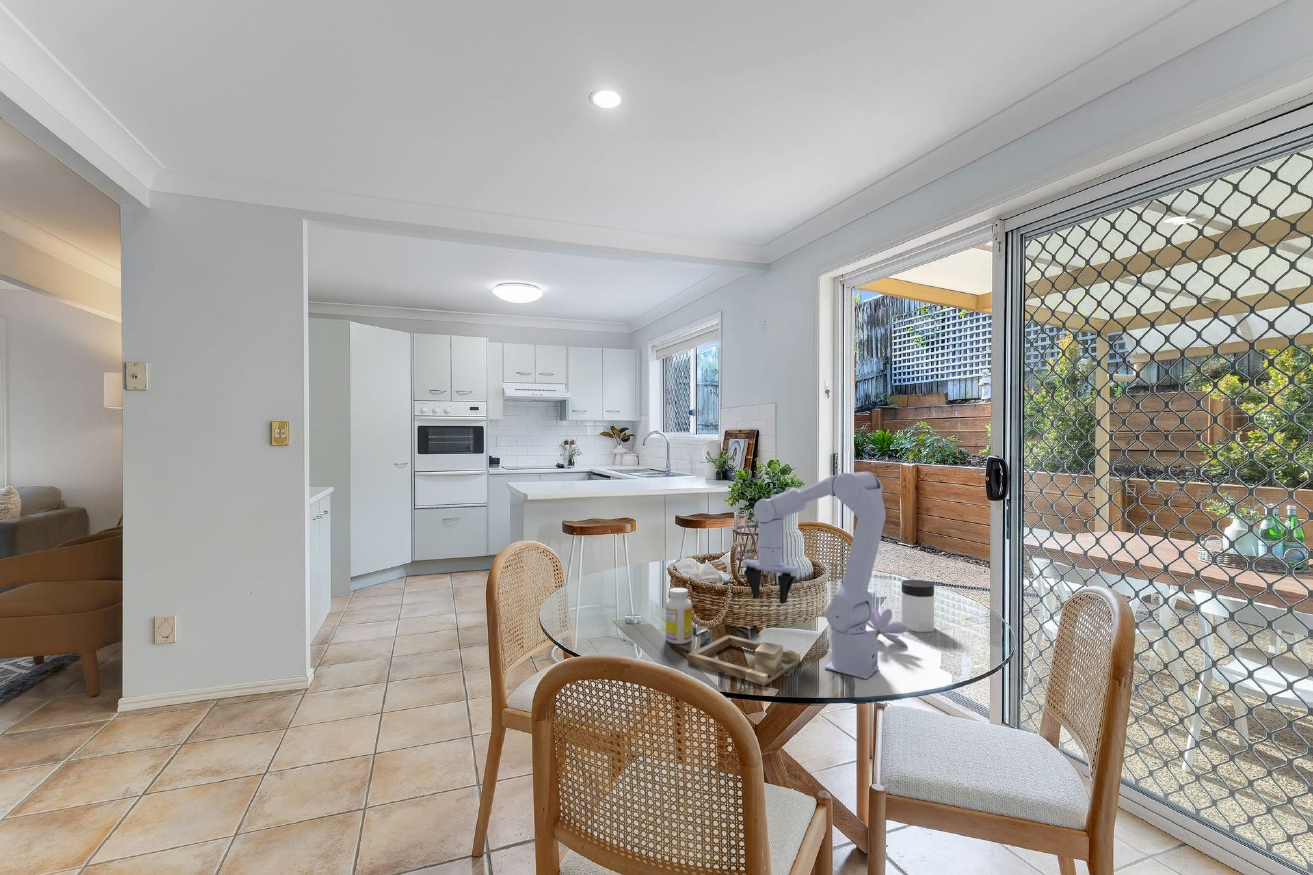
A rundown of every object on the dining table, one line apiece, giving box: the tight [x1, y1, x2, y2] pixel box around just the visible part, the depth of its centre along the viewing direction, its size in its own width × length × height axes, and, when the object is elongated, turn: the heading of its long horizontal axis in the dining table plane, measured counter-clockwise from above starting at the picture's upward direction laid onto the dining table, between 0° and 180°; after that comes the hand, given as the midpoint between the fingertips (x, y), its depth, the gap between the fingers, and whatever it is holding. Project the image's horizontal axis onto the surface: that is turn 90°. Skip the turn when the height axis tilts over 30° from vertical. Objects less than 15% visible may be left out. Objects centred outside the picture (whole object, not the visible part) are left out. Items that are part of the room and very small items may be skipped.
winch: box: [692, 626, 713, 647], centre depth 148 cm, size 7×3×5 cm, turn 141°
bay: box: [687, 634, 801, 685], centre depth 138 cm, size 20×17×2 cm
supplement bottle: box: [665, 587, 693, 645], centre depth 152 cm, size 7×7×13 cm
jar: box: [900, 579, 935, 633], centre depth 163 cm, size 9×8×12 cm
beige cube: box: [753, 641, 784, 677], centre depth 134 cm, size 5×6×5 cm
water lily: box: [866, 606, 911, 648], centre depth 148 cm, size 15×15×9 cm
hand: (769, 600), depth 152 cm, fingers open, 7 cm apart
